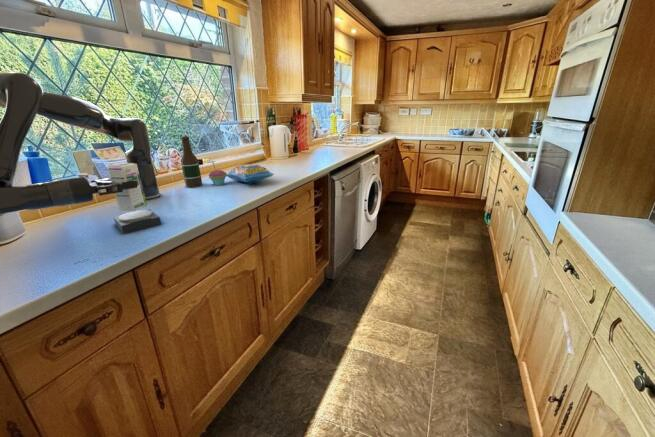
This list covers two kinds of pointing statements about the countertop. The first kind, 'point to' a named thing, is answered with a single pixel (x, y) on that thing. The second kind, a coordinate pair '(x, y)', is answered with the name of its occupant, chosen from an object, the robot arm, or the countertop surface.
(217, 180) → the cupcake
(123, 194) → the syrup box
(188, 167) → the beer bottle
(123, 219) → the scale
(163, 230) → the countertop surface
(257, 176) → the packet
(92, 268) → the countertop surface
